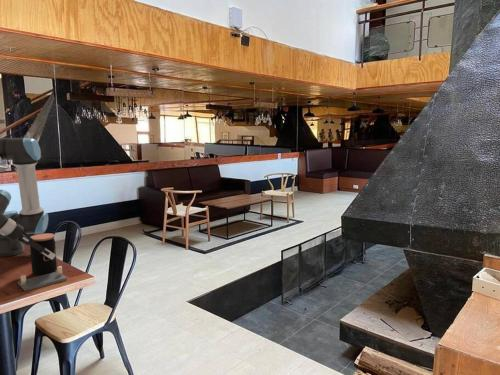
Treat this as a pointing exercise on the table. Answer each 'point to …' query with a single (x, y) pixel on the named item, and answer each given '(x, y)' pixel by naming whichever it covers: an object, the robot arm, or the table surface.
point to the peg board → (42, 280)
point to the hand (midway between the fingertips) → (49, 254)
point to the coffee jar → (40, 261)
